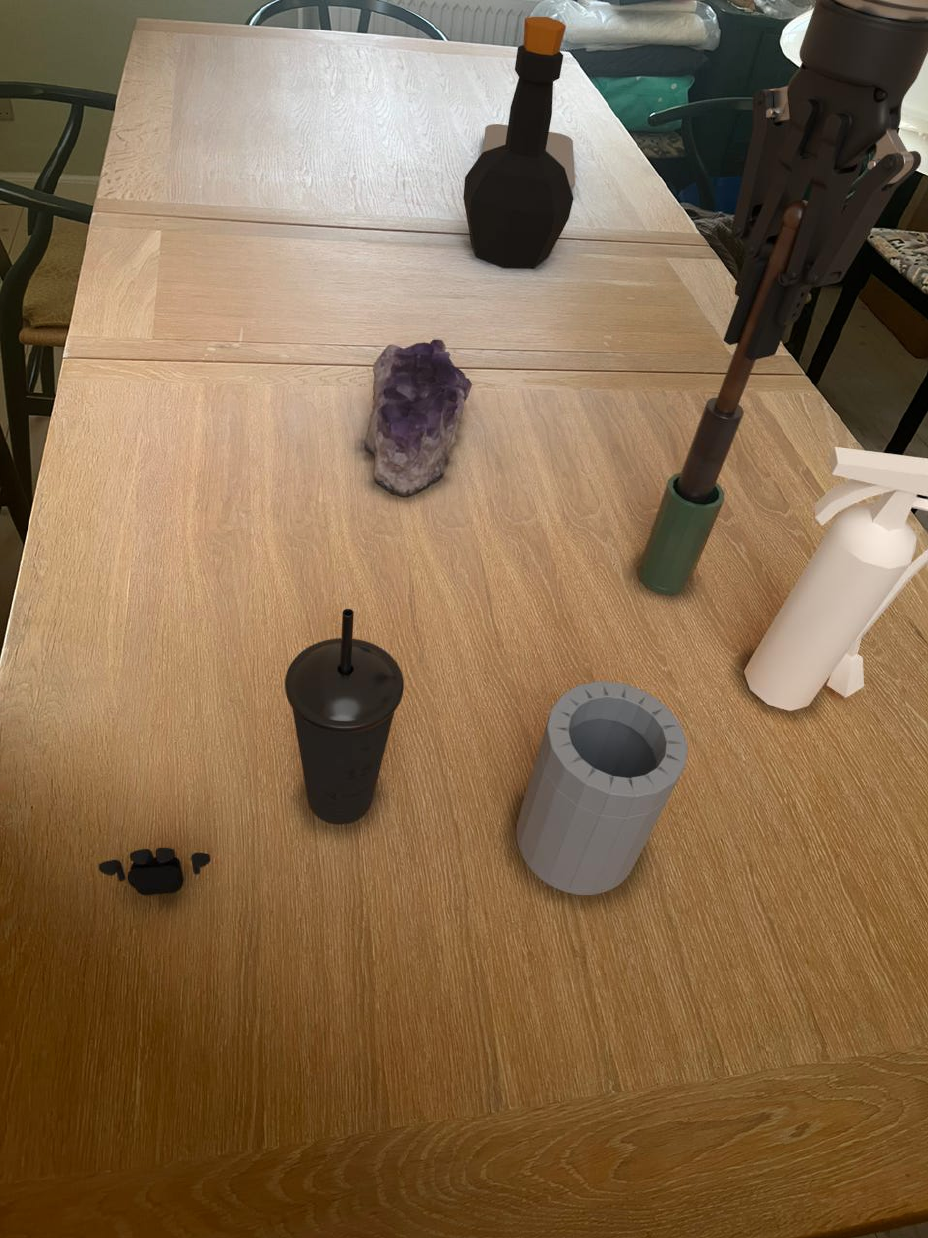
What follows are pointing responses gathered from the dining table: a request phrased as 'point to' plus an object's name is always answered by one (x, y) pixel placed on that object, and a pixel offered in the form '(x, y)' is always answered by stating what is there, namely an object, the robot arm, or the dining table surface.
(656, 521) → the brush pot
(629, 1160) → the dining table surface
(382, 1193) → the dining table surface
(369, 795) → the drinking cup
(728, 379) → the brush
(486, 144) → the tablet
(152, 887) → the wireless earbuds
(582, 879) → the gray cylindrical holder
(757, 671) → the fire extinguisher
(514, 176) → the bottle
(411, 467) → the geode
